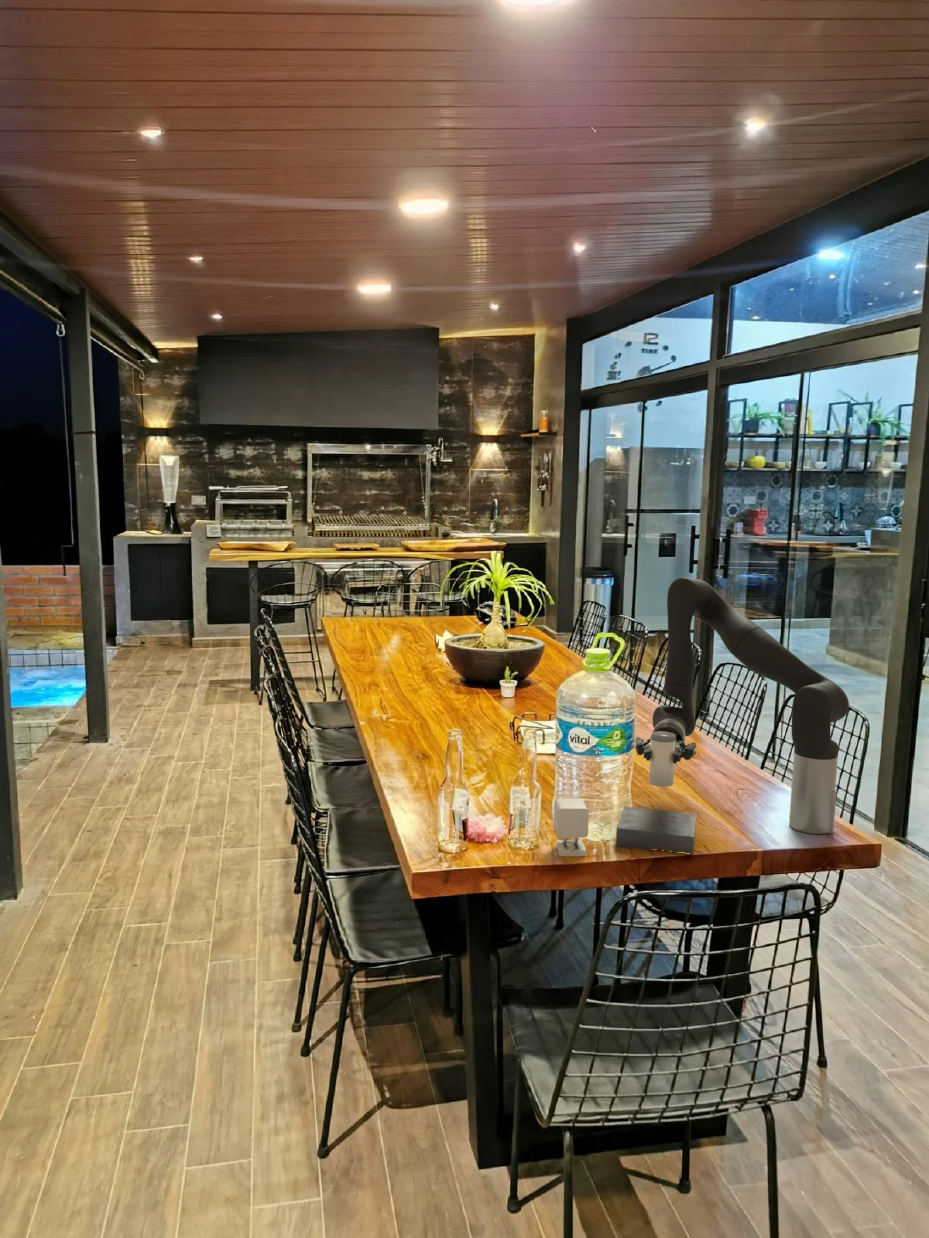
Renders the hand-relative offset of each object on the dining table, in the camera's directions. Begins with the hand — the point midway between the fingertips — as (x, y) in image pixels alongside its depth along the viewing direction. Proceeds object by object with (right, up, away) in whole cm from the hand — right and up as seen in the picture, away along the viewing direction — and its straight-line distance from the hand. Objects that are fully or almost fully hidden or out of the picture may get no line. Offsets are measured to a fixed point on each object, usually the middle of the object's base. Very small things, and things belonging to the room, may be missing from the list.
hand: (661, 757), depth 201 cm
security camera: (-20, -19, -5) cm, 28 cm away
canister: (+1, -6, +3) cm, 7 cm away
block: (-1, -18, +1) cm, 18 cm away
